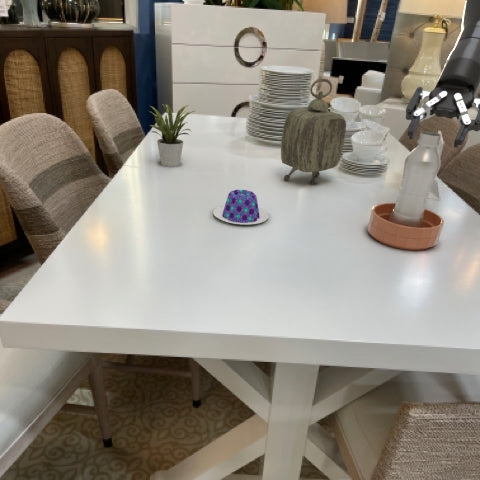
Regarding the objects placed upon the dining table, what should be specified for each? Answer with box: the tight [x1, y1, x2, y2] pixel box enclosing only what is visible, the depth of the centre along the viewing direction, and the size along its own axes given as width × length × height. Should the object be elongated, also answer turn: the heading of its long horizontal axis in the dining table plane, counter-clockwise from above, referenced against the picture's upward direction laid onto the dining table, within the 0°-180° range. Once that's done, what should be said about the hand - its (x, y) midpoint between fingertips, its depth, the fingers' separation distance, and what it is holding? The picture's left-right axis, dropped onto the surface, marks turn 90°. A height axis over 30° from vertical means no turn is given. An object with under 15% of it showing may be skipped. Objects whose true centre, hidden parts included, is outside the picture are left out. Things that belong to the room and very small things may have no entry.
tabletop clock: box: [280, 78, 347, 185], centre depth 120 cm, size 14×9×25 cm, turn 124°
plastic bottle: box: [389, 131, 442, 228], centre depth 93 cm, size 6×7×20 cm
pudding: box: [212, 189, 269, 226], centre depth 101 cm, size 12×12×5 cm
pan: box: [367, 202, 445, 251], centre depth 98 cm, size 14×14×5 cm
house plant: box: [148, 102, 195, 168], centre depth 128 cm, size 14×14×16 cm
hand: (432, 140), depth 91 cm, fingers open, 8 cm apart
